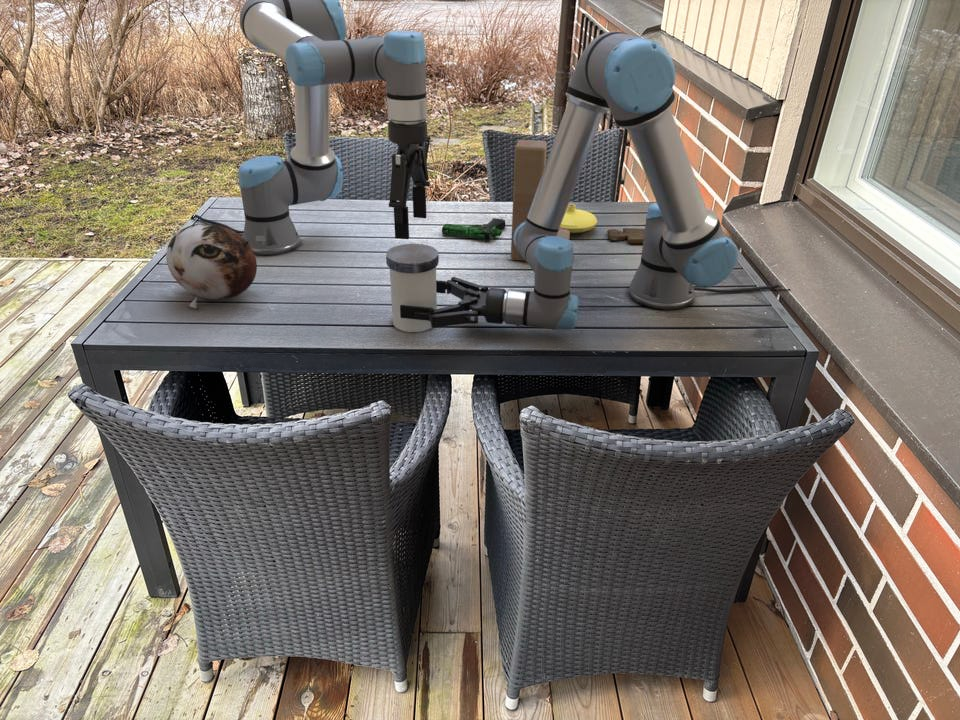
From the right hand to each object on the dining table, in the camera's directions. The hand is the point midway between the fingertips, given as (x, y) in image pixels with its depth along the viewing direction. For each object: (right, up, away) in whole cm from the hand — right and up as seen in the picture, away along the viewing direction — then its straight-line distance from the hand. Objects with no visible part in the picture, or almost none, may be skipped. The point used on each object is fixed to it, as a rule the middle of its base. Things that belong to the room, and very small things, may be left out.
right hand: (409, 297), depth 156 cm
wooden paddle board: (+65, +21, +49) cm, 84 cm away
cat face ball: (-46, +1, +13) cm, 48 cm away
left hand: (+1, +14, -8) cm, 16 cm away
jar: (+1, -5, +3) cm, 6 cm away
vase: (+42, +25, +55) cm, 73 cm away
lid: (+1, +9, -5) cm, 10 cm away
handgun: (+14, +23, +52) cm, 59 cm away
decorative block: (+32, +14, +36) cm, 50 cm away
